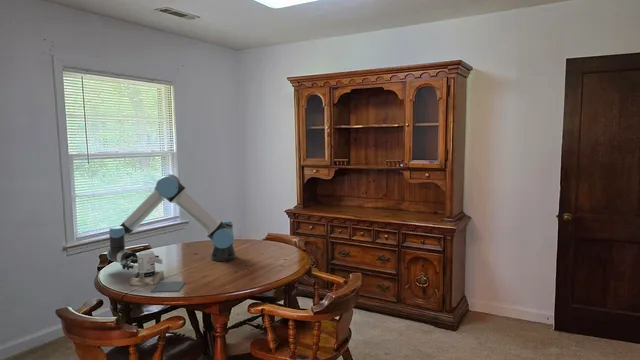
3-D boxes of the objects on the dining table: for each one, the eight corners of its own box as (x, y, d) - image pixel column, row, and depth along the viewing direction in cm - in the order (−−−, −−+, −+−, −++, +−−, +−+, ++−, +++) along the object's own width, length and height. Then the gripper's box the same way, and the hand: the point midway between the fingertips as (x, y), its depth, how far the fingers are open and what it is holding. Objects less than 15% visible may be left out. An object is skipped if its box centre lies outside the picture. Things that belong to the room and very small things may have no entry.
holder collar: (163, 276, 225) (163, 270, 225) (156, 284, 212) (155, 278, 212) (138, 276, 224) (138, 271, 224) (129, 285, 211) (129, 279, 211)
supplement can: (141, 278, 222) (140, 250, 221) (157, 277, 223) (156, 250, 221) (136, 283, 214) (134, 254, 212) (152, 283, 215) (151, 254, 213)
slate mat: (185, 282, 215) (185, 281, 215) (178, 291, 202) (178, 290, 202) (159, 283, 214) (159, 282, 214) (151, 292, 201) (150, 291, 201)
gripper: (148, 259, 238) (171, 266, 226) (104, 270, 218) (127, 278, 206) (148, 246, 238) (171, 252, 225) (104, 256, 217) (126, 263, 205)
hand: (150, 264), depth 216 cm, fingers open, 13 cm apart
